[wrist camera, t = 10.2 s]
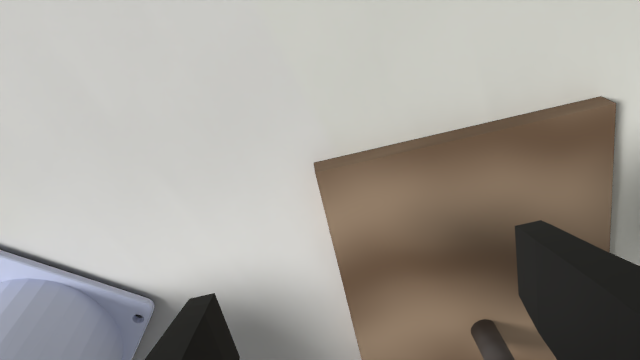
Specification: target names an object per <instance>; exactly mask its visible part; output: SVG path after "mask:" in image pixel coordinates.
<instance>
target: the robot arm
mask: <svg viewBox="0 0 640 360" xmlns="http://www.w3.org/2000/svg"><path fill="white" fill-rule="evenodd" d="M515 240H516V258H517V276H518V294H519V297H520V299H521V301H522V303H523V305H524V307H525V309H526V311H527V312H528V314H529V316H530V318H531V320H532V322H533V324H534V325H535V327H536V329H537V331H538V333H539V334H540V336H541V337H542V339H543V340H544V341H545V343H546V344H547V346H548V347H549V349H550V350H551V352H552V353H553V354H554V356H555V357H556V359H557V360H640V266H638V265H635V264H633V263H631V262H629V261H626V260H624V259H622V258H620V257H618V256H615V255H613V254H611V253H609V252H607V251H605V250H603V249H601V248H598V247H596V246H594V245H592V244H590V243H588V242H586V241H584V240H582V239H580V238H578V237H576V236H574V235H572V234H570V233H568V232H565V231H563V230H561V229H559V228H557V227H555V226H553V225H551V224H549V223H546V222H544V221H542V220H539V221H535V222H530V223H526V224H521V225H517V226H515ZM154 307H155V306H154V303H153V302H152V301H151V300H150V299H148V298H146V297H143V296H140V295H137V294H134V293H131V292H128V291H125V290H121V289H118V288H115V287H112V286H109V285H106V284H103V283H100V282H97V281H94V280H91V279H88V278H85V277H82V276H79V275H76V274H73V273H69V272H66V271H63V270H60V269H57V268H54V267H51V266H48V265H45V264H42V263H39V262H36V261H33V260H30V259H27V258H24V257H21V256H17V255H14V254H11V253H8V252H5V251H2V250H0V360H132V359H133V356H134V354H135V352H136V350H137V347H138V345H139V343H140V341H141V338H142V336H143V334H144V332H145V329H146V327H147V325H148V323H149V320H150V318H151V316H152V314H153V311H154ZM136 314H139V315H141V316H143V317H142V318H140V317H137V316H136ZM145 360H239V354H238V351H237V349H236V346H235V344H234V341H233V339H232V336H231V334H230V331H229V329H228V326H227V324H226V321H225V319H224V316H223V314H222V311H221V308H220V306H219V303H218V301H217V298H216V296H215V293H214V294H209V295H205V296H200V297H196V298H191V299H189V300H188V302H187V303H186V304H185V306H184V307H183V308H182V310H181V311H180V312H179V314H178V315H177V316H176V318H175V319H174V321H173V322H172V323H171V325H170V326H169V328H168V329H167V330H166V332H165V333H164V334H163V336H162V337H161V338H160V340H159V341H158V342H157V344H156V345H155V346H154V348H153V349H152V351H151V352H150V353H149V355H148V356H147V357H146V359H145Z"/></svg>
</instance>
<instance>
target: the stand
mask: <svg viewBox="0 0 640 360" xmlns="http://www.w3.org/2000/svg"><path fill="white" fill-rule="evenodd" d="M615 113H616V103H614V102H612V101H610V100H608V99H605V98H603V97H601V96H600V97H596V98H592V99H588V100H583V101H579V102H575V103H570V104H566V105H562V106H557V107H553V108H549V109H544V110H540V111H536V112H531V113H527V114H523V115H518V116H514V117H510V118H505V119H501V120H497V121H492V122H488V123H484V124H480V125H475V126H471V127H467V128H462V129H458V130H454V131H449V132H445V133H441V134H436V135H432V136H428V137H423V138H419V139H415V140H410V141H406V142H402V143H397V144H393V145H389V146H384V147H380V148H376V149H371V150H367V151H363V152H359V153H354V154H350V155H346V156H341V157H337V158H333V159H328V160H324V161H320V162H315V163H314V168H315V174H316V178H317V182H318V186H319V190H320V194H321V198H322V202H323V206H324V210H325V214H326V218H327V222H328V226H329V230H330V234H331V238H332V242H333V246H334V250H335V254H336V258H337V262H338V266H339V270H340V274H341V278H342V282H343V286H344V290H345V294H346V298H347V302H348V306H349V310H350V314H351V318H352V322H353V326H354V330H355V334H356V338H357V342H358V346H359V350H360V354H361V358H362V360H557V359H556V357H555V356H554V354H553V353H552V352H551V350H550V349H549V347H548V346H547V344H546V343H545V341H544V340H543V339H542V337H541V336H540V334H539V333H538V331H537V329H536V327H535V325H534V324H533V322H532V320H531V318H530V316H529V314H528V312H527V311H526V309H525V307H524V305H523V303H522V301H521V299H520V297H519V294H518V276H517V258H516V240H515V226H517V225H521V224H526V223H530V222H535V221H539V220H542V221H544V222H546V223H549V224H551V225H553V226H555V227H557V228H559V229H561V230H563V231H565V232H568V233H570V234H572V235H574V236H576V237H578V238H580V239H582V240H584V241H586V242H588V243H590V244H592V245H594V246H596V247H598V248H601V249H603V250H605V251H607V252H609V250H610V227H611V204H612V182H613V159H614V136H615Z"/></svg>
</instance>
